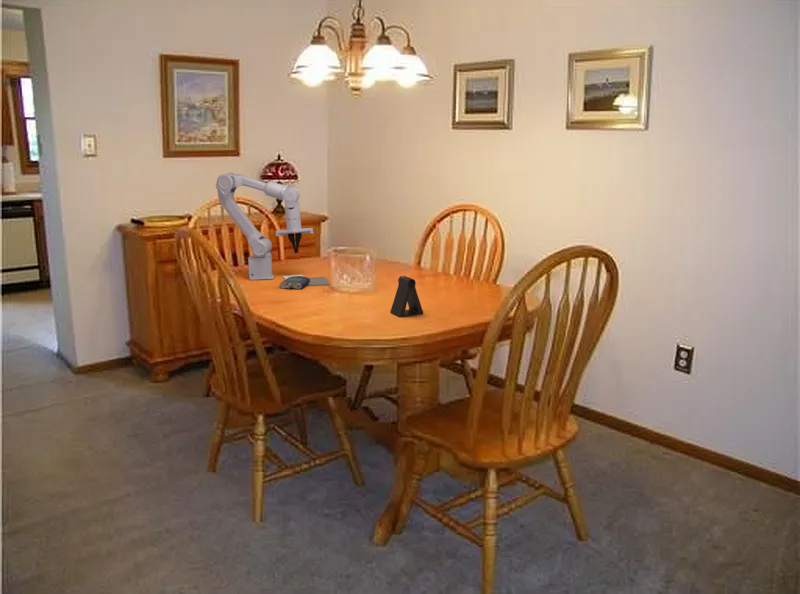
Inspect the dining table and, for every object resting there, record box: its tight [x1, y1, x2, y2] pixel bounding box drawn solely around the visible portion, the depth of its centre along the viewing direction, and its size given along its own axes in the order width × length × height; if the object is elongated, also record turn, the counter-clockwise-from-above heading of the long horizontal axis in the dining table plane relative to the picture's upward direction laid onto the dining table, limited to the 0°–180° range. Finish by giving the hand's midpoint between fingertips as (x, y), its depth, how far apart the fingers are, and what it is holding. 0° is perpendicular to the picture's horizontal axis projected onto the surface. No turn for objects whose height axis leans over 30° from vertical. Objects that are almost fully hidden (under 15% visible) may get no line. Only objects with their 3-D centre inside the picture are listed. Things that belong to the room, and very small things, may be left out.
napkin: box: [282, 274, 304, 280], centre depth 276 cm, size 8×6×1 cm
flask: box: [279, 275, 310, 290], centre depth 260 cm, size 9×3×11 cm
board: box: [306, 276, 331, 287], centre depth 269 cm, size 8×14×1 cm, turn 13°
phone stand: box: [390, 275, 424, 318], centre depth 222 cm, size 9×6×12 cm, turn 120°
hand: (296, 252), depth 273 cm, fingers closed
